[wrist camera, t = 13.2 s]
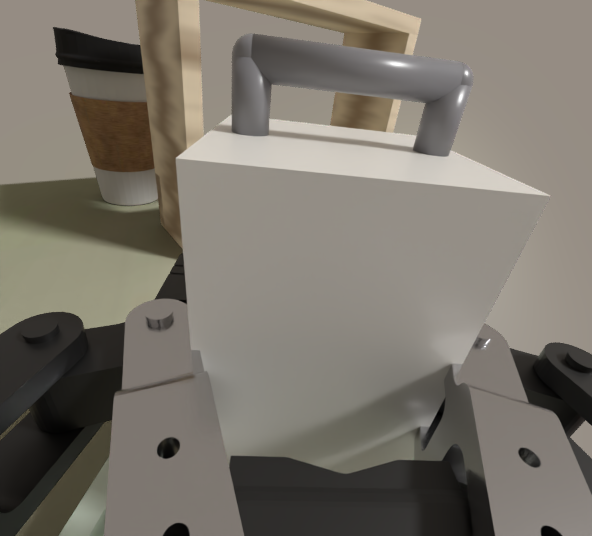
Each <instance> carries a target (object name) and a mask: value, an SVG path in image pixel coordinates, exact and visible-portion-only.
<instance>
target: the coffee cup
mask: <svg viewBox="0 0 592 536" xmlns="http://www.w3.org/2000/svg"><path fill="white" fill-rule="evenodd" d="M53 29H54V35H55V42H56V57H57V58H58V64H60V65H63V66H64V69H65V72H66V76H67V79H68V82H69V86H70V89H71V92H70V93H69V94H70V97H71V101H72V104H73V107H74V110H75V113H76V116H77V119H78V122H79V125H80V129H81V132H82V135H83V137H84V141H85V144H86V147H87V150H88V153H89V156H90V159H91V163H92V165H93V167H94V171H95V174H96V178H97V181H98V184H99V188H100V191H101V195H102V198H103V199H104V200H105V201H106V202H108V203H111V204H116V205H142V204H147V203H151V202H153V201H155V200H157V199H158V193H157V184H156V176H155V167H154V158H153V150H152V141H151V132H150V124H149V115H148V106H147V98H146V89H145V80H144V72H143V63H142V54H141V46H140V45H135V44H129V43H123V42H117V41H112V40H107V39H102V38H99V37H94V36H91V35H88V34H84V33H80V32H77V31H73V30H69V29H64V28H57V27H53Z"/></svg>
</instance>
